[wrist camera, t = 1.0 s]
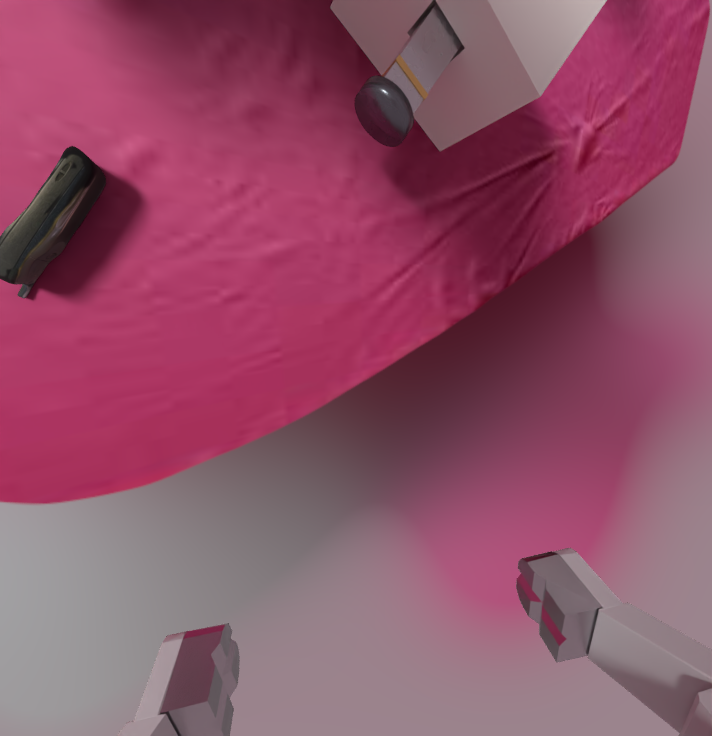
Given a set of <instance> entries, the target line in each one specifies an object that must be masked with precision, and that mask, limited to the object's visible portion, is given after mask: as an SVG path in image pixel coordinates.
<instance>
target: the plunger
mask: <svg viewBox="0 0 712 736" xmlns="http://www.w3.org/2000/svg"><path fill="white" fill-rule="evenodd" d="M461 45H462V43H461V41H460V39H459V38H458V36H457V35H456V33H455V31H454V30H453V28H452V26H451V25H450V23H449V22H448V20H447V18H446V17H445V15H444V13H443V12H442V10H441V9H440V7H439V5H438V4H437V2H436V0H435V2H434V3H433V4H432V6H431V7H430V9H429V10H428V12H427V13H426V14H425V16H424V17H423V19H422V20H421V21H420V23H419V24H418V26H417V27H416V29H415V30H414V31H413V33H412V34H411V36H410V37H409V39H408V40H407V41H406V43H405V44H404V46H403V47H402V49H401V50H400V51H399V53H398V54H397V56H396V57H395V59H394V60H393V61H392V63H391V64H390V66H389V67H388V68H387V70H386V71H385V72H384V73H383V74H382V76H372V77H370V78H369V79H368V80H367V81H366V82H365V84H364V85H363V87H362V88H361V90H360V91H359V92H358V94H357V95H356V98H355V110H356V114H357V116H358V119H359V121H360V122H361V124H362V126H363V127H364V129H365V130H366V131H367V132H368V133H369V134H370V135H371V136H372V137H373V138H374V139H375V140H376V141H378V142H380V143H381V144H383V145H386V146H390V147H395V146H398V145H400V144H401V143H402V141H403V140H404V139H405V137H406V136H407V134H408V133H409V131H410V130H411V128H412V126H413V122H414V116H413V114H414V112H415V111H416V110H417V108H418V107H419V105H420V104H421V103H422V102H423V101H424V100H425V99H426V97H427V96H428V92H429V91H430V90H431V88H432V87H433V85H434V84H435V82H436V81H437V79H438V78H439V77H440V75H441V74H442V72H443V71H444V69H445V68H446V67H447V65H448V64H449V62H450V61H451V59H452V58H453V57H454V55H455V54H456V52H457V51H458V49H459V48H460V47H461Z"/></svg>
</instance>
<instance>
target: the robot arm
mask: <svg viewBox="0 0 712 736" xmlns="http://www.w3.org/2000/svg"><path fill="white" fill-rule="evenodd" d="M518 569H519V570H520V572H521V574H520V576H519V577H518V578H517V584H516V588H517V592H518V596H519V599H520V601H521V604H522V605H523V608H524V609H525V611H526V613H527V615H528V616H529V617H530V618H531V619H533V620H535V621H536V622H537V623H538V624H539V634H540V636H541V638H542V639H543V641H544V643H545V644H546V645H547V647H548V649H549V651H550V652H551V654H552V656H553V657H554V659H555V661H556V662H561V661H565V660H570V659H575V658H579V657H583V656H588V659H590V660H591V661H592V662H593V663H594V664H596V665H597V666H598V667H599V668H601V669H602V670H603V671H604V672H606V673H607V674H608V675H609V676H610V677H612V678H613V679H614V680H615V681H616V682H618V683H619V684H620V685H622V686H623V687H624V688H625V689H626V690H628V691H629V692H630V693H631V694H632V695H634V696H635V697H636V698H637V699H639V700H640V701H641V702H642V703H644V704H645V705H646V706H647V707H648V708H650V709H651V710H652V711H653V712H655V713H656V714H657V715H658V716H659V717H661V718H662V719H663V720H664V721H665V722H667V723H668V724H669V725H670V726H672V727H673V728H674V729H675V730H677V731H678V732H679V733H680V734H679V736H712V650H711V649H710V648H708V647H706V646H704V645H702V644H701V643H699V642H697V641H696V640H694V639H692V638H690V637H688V636H687V635H685V634H683V633H681V632H680V631H678V630H676V629H674V628H672V627H671V626H669V625H667V624H665V623H663V622H662V621H660V620H658V619H656V618H655V617H653V616H651V615H649V614H647V613H646V612H644V611H642V610H641V609H639V608H637V607H635V606H633V605H632V604H630V603H628V602H627V603H622V602H621V601H620V600H619V599H618V598H617V597H616V596H615V594H614V593H613V592H612V591H611V590H610V589H609V588H608V587H607V585H606V584H605V583H604V582H603V581H602V580H601V579H600V578H599V576H598V575H597V574H596V573H595V572H594V571H593V570H592V569H591V568H590V567H589V565H588V564H587V563H586V562H585V561H584V560H583V559H582V558H581V556H580V555H579V554H578V553H577V552H576V551H575V550H573V549H571V548H566V549H562V550H558V551H554V552H552V551H551V552H547V553H543V554H538V555H534V556H530V557H526V558H522V559H520V561H519V563H518ZM231 634H232V630H231V627H230V625H229V623H227V624H221V625H217V626H212V627H207V628H202V629H197V630H193V631H186V632H182V633H177V634H172V635H168V636H166V638H165V640H164V641H163V643H162V644H161V646H160V649H159V652H158V655H157V658H156V660H155V663H154V666H153V669H152V672H151V674H150V677H149V680H148V683H147V685H146V688H145V691H144V694H143V697H142V699H141V702H140V705H139V708H138V711H137V713H136V716H135V719H134V721H131V722H128V723H126V725H125V726H124V727H123V728H122V730H121V731H120V732H119V733H118V735H117V736H230V730H231V723H232V717H233V710H234V708H233V706H232V703H231V701H230V696H231V695H232V693H233V692H234V690H235V689H236V687H237V683H238V676H239V650H238V646H237V643H236V642H235V641H233V640H232V639H231Z"/></svg>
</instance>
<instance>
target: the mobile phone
mask: <svg viewBox="0 0 712 736" xmlns="http://www.w3.org/2000/svg"><path fill="white" fill-rule="evenodd" d="M105 184H106V178H105V175H104V173H103V172H102V170H101V169H100V168H99V167H98V166H97V165H96V164H95V163H94V162H93V161H92V160H91V159H90V158H89V157H88V156H86V155H85V154H84V153H83V152H82V151H81V150H79V149H78V148H76V147H73V146H71V147H69V148H67V149H66V150H65V151H64V152H63V154H62V156H61V158H60V160H59V162H58V163H57V165H56V167H55V168H54V170H53V171H52V173H51V174H50V176H49V177H48V179H47V180H46V182H45V183H44V184H43V186H42V187H41V188H40V190H39V191H38V193H37V195H36V196H35V198H34V199H33V201H32V202H31V203H30V205H29V206H28V207H27V209H26V210H25V211H23V212H22V213H21V214H20V216H19V217H18V218H17V219H16V220H15V221H14V222H13V223H12V224H11V225H9V226H8V227H7V228H6V230H5V231H4V232H3V233H2V235H1V236H0V279H2V280H4V281H6V282H8V283H11V284H22V287H21V289H20V291H19V293H18V296H19V297H22V298H26V297H27V295H28V294H29V292H30V290H31V289H32V287H33V285H34V283H35V281H36V280H37V278H38V277H39V276H40V275H41V274H42V272H43V271H44V269H45V268H46V266H47V265H48V264H49V263H50V262H51V261H52V260H53V259H54V258H56V257H57V256H59V255H60V254H61V252H62V251H63V250H64V248H65V247H66V245H67V244H68V242H69V240H70V239H71V237H72V236H73V234H74V233H75V232H76V230H77V229H78V228H79V226H80V225H81V223H82V222H83V220H84V219H85V217H86V215H87V214H88V212H89V211H90V209H91V208H92V206H93V205H94V203H95V202H96V200H97V199H98V197H99V196H100V194H101V192H102V191H103V189H104V187H105Z"/></svg>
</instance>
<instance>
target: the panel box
mask: <svg viewBox="0 0 712 736" xmlns="http://www.w3.org/2000/svg"><path fill="white" fill-rule="evenodd" d="M606 1H607V0H436V2H437V4H438V5H439V7H440V9H441V10H442V12H443V13H444V15H445V17H446V18H447V20H448V22H449V23H450V25H451V26H452V28H453V30H454V31H455V33H456V35H457V36H458V38H459V39H460V41H461V43H462V45H461V47H460V48H459V49H458V51H457V52H456V54H455V55H454V57H453V58H452V59H451V61H450V62H449V64H448V65H447V67H446V68H445V69H444V71H443V72H442V74H441V75H440V77H439V78H438V79H437V81H436V82H435V84H434V85H433V87H432V88H431V90H430V91H429V92H428V96H427V97H426V99H425V100H424V101H423V102H422V103H421V104H420V105H419V107H418V108H417V110H416V111H415V112H414V114H413V116H414V119H415V120H416V121H417V122H418V124H419V125H420V126H421V128H422V129H423V130H424V132H425V133H426V134H427V136H428V137H429V138H430V139H431V141H432V142H433V143H434V145H435V146H436V147H437V149H438V150H439V151H442V150H444V149H446V148H447V147H449V146H451V145H453V144H455V143H457V142H458V141H460V140H462V139H464V138H466V137H468V136H469V135H471V134H473V133H475V132H477V131H479V130H480V129H482V128H484V127H486V126H488V125H489V124H491V123H493V122H495V121H497V120H499V119H500V118H502V117H504V116H506V115H508V114H510V113H511V112H513V111H515V110H517V109H519V108H521V107H522V106H524V105H526V104H528V103H530V102H531V101H533V100H535V99H537V98H539V97H540V96H541V95H542V93H543V92H544V91H545V89H546V88H547V86H548V85H549V83H550V82H551V80H552V79H553V78H554V76H555V75H556V73H557V72H558V70H559V69H560V67H561V66H562V64H563V63H564V62H565V60H566V59H567V57H568V56H569V54H570V53H571V51H572V50H573V49H574V47H575V46H576V44H577V43H578V41H579V40H580V38H581V37H582V36H583V34H584V33H585V31H586V30H587V28H588V27H589V25H590V24H591V22H592V21H593V20H594V18H595V17H596V15H597V14H598V12H599V11H600V9H601V8H602V7H603V5H604V4H605V2H606ZM434 2H435V0H333V2H332V4H331V6H330V9H331V10H332V11H333V13H334V14H335V15H336V16H337V18H338V19H339V20H340V22H341V23H342V24H343V26H344V27H345V28H346V30H347V31H348V32H349V33H350V35H351V36H352V37H353V39H354V40H355V41H356V43H357V44H358V45H359V47H360V48H361V49H362V50H363V52H364V53H365V54H366V56H367V57H368V58H369V60H370V61H371V62H372V64H373V65H374V66H375V67H376V69H377V70H378V71H379V73H380V74H381V75H382V74H383V73H384V72H385V71H386V70H387V68H388V67H389V66H390V64H391V63H392V61H393V60H394V59H395V57H396V56H397V54H398V53H399V51H400V50H401V49H402V47H403V46H404V44H405V43H406V41H407V40H408V39H409V37H410V36H411V34H412V33H413V31H414V30H415V29H416V27H417V26H418V24H419V23H420V21H421V20H422V19H423V17H424V16H425V14H426V13H427V12H428V10H429V9H430V7H431V6H432V4H433V3H434Z"/></svg>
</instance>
